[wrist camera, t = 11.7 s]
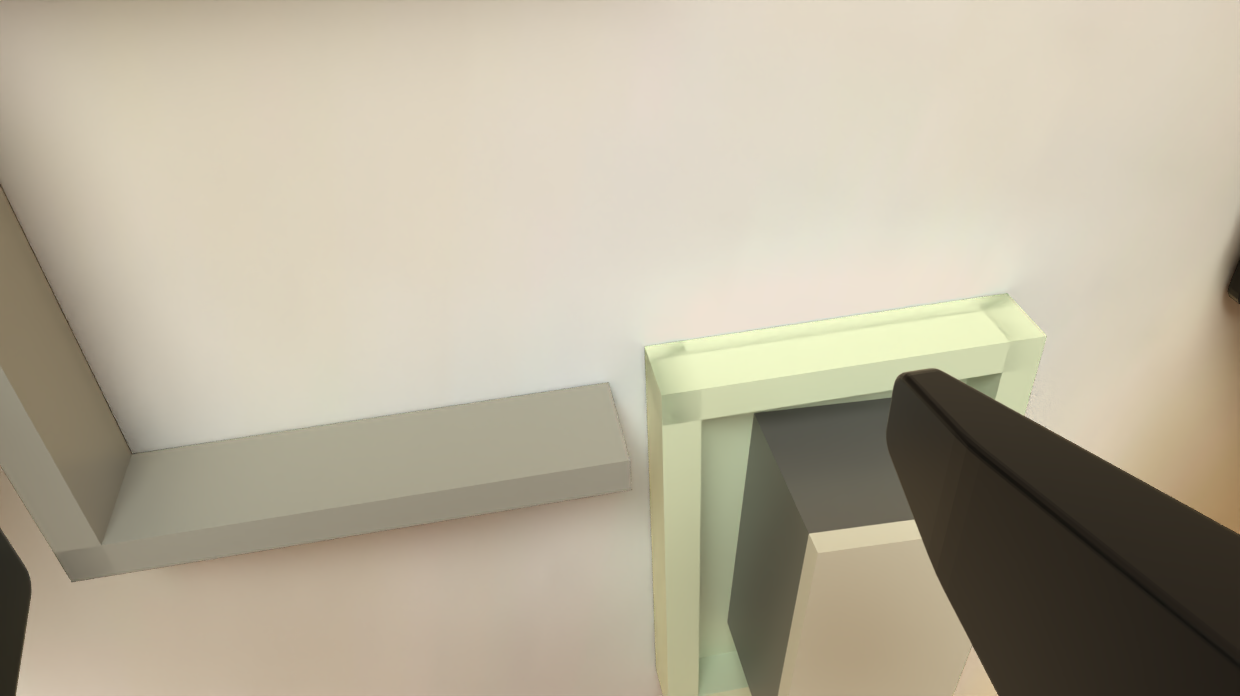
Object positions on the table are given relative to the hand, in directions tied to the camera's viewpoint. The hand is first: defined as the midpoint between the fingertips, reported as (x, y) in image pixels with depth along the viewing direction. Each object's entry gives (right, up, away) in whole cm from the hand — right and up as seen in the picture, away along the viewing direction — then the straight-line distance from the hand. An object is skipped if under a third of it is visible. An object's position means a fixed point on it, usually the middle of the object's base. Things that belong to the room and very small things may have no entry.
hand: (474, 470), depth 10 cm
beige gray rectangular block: (+7, -4, +19) cm, 21 cm away
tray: (+7, -4, +20) cm, 21 cm away
